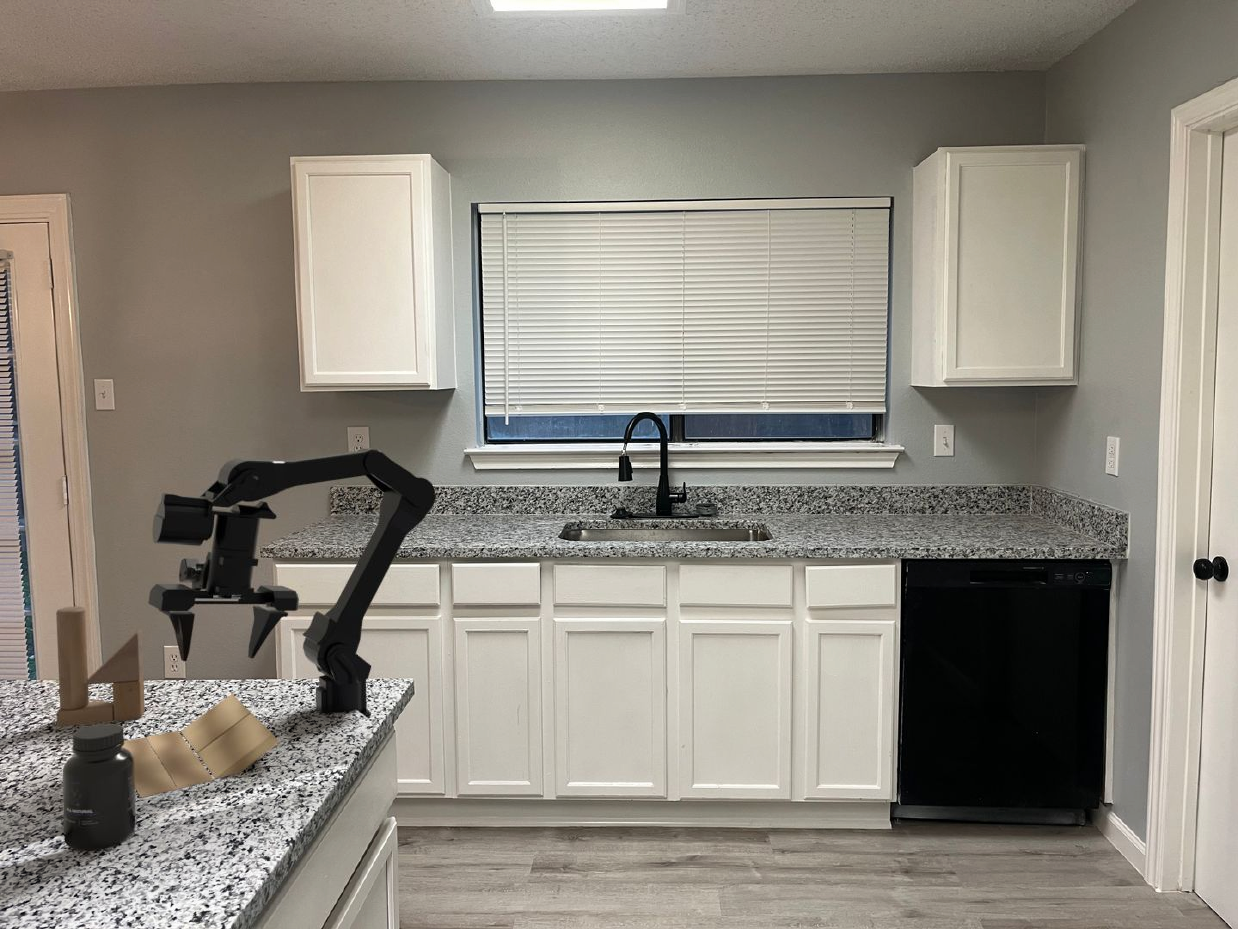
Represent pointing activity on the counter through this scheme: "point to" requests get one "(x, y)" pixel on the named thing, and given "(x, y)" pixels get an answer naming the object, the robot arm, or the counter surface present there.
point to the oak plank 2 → (238, 747)
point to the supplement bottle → (98, 789)
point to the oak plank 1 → (215, 723)
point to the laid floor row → (165, 764)
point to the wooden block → (96, 675)
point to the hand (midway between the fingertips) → (218, 659)
